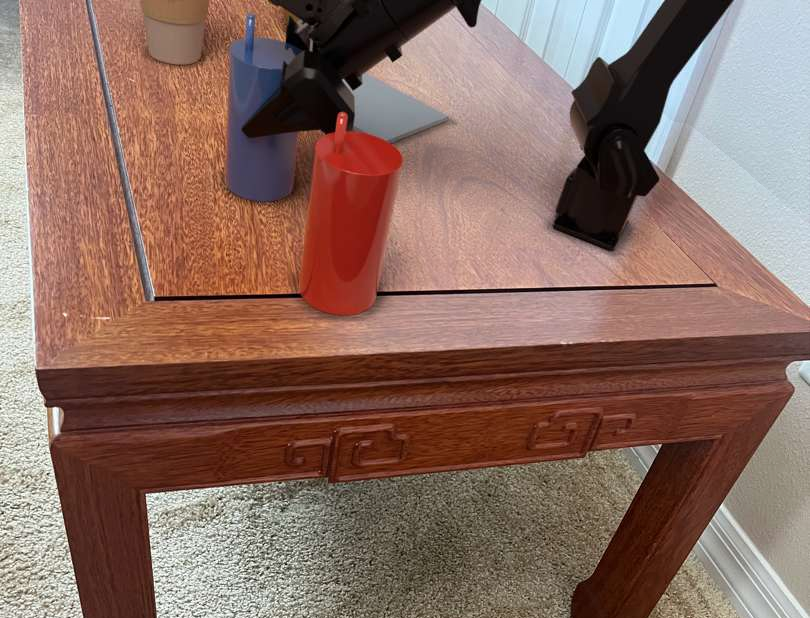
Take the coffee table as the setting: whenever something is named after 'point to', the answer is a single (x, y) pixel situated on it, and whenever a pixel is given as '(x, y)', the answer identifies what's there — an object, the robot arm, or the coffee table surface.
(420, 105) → the gray mat
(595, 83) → the robot arm
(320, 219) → the red cylinder
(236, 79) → the blue cylinder
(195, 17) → the coffee cup
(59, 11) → the coffee table surface
